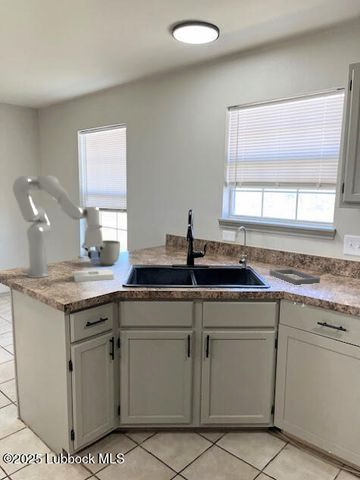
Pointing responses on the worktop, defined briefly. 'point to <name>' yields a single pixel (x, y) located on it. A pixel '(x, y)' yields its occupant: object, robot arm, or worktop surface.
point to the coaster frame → (308, 278)
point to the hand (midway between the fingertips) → (94, 257)
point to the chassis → (93, 275)
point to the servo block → (94, 256)
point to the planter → (109, 253)
